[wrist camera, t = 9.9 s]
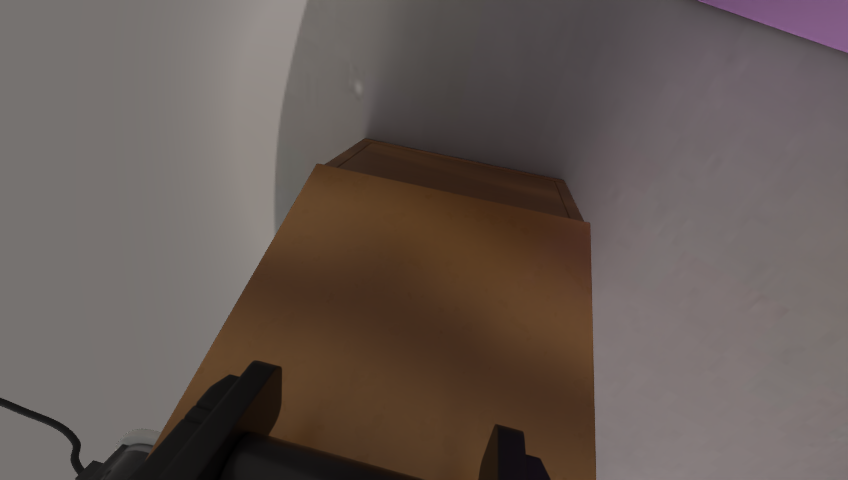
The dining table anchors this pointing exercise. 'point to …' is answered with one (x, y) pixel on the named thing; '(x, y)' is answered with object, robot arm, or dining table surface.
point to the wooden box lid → (412, 336)
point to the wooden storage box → (459, 177)
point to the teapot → (797, 17)
